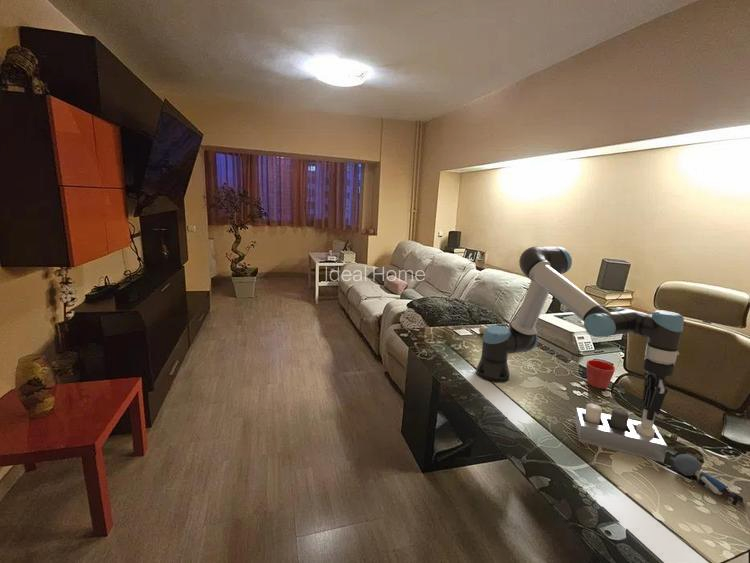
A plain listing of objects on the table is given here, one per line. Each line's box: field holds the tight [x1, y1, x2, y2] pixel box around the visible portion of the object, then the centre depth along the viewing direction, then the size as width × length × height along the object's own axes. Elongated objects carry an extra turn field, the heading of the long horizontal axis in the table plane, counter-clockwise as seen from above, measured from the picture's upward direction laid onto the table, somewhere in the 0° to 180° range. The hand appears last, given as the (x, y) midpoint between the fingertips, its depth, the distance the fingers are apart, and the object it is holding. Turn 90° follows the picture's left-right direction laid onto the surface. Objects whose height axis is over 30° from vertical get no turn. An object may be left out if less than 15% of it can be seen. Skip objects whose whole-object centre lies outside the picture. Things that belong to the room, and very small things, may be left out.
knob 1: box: [584, 403, 603, 425], centre depth 117 cm, size 5×5×6 cm
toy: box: [669, 453, 744, 506], centre depth 96 cm, size 7×6×15 cm
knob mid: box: [609, 408, 630, 431], centre depth 114 cm, size 5×5×6 cm
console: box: [574, 407, 668, 464], centre depth 114 cm, size 23×12×6 cm, turn 66°
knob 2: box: [636, 423, 655, 438], centre depth 111 cm, size 5×5×6 cm
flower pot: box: [586, 359, 616, 389], centre depth 154 cm, size 11×11×10 cm
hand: (646, 426), depth 110 cm, fingers closed
